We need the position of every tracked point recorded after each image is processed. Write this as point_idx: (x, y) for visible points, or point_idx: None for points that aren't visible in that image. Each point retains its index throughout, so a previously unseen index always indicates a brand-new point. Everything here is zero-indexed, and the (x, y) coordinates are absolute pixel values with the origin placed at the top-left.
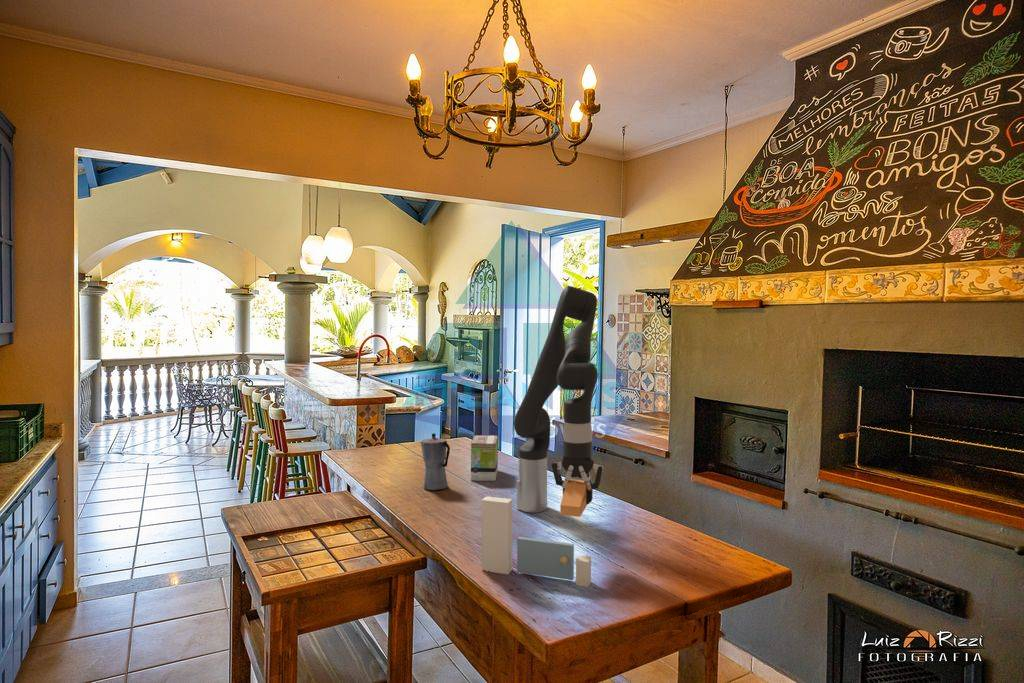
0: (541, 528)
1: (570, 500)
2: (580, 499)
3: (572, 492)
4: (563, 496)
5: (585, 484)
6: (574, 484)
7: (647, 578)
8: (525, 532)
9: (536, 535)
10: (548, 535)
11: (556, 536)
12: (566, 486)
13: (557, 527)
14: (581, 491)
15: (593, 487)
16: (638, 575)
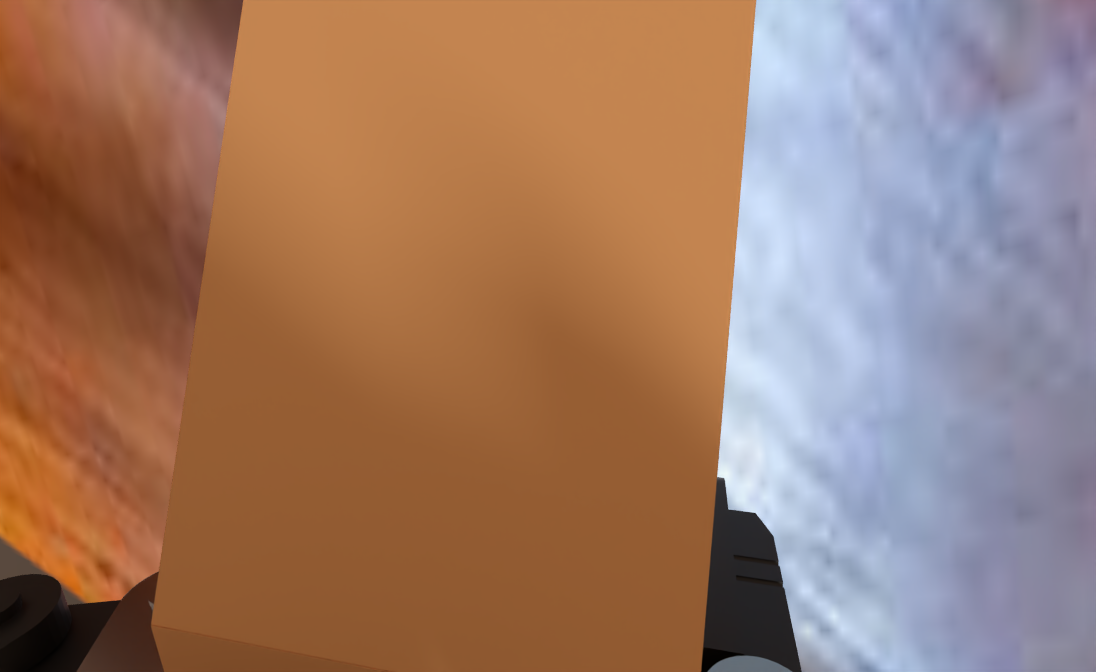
0: (915, 635)
1: (508, 25)
2: (264, 90)
3: (476, 322)
4: (725, 153)
5: (166, 660)
6: (445, 666)
7: (157, 57)
8: (1039, 569)
9: (947, 532)
10: (855, 541)
11: (796, 532)
12: (683, 585)
13: (803, 654)
14: (247, 375)
15: (98, 624)
16: (210, 84)
